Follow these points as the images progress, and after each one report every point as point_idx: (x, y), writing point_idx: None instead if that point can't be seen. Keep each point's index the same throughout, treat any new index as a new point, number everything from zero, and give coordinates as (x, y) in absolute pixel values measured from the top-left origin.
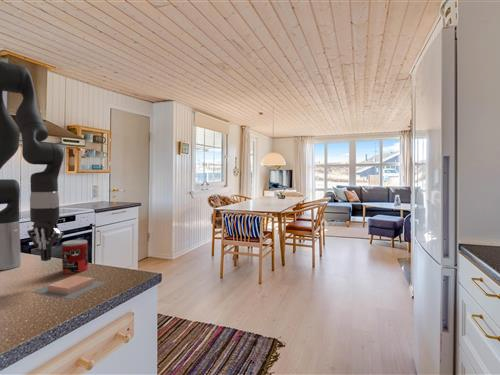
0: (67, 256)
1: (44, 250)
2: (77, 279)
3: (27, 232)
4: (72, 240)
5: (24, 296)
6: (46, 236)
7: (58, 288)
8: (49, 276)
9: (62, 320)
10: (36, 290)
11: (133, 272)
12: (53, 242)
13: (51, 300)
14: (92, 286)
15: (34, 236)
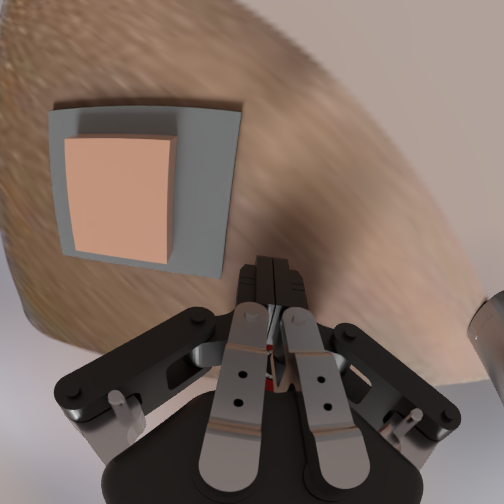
0: (267, 363)
1: (256, 301)
2: (112, 227)
3: (458, 410)
4: None
5: (250, 88)
6: (210, 401)
7: (112, 137)
8: (330, 287)
9: (3, 30)
10: (234, 132)
11: (88, 339)
12: (135, 343)
13: (109, 88)
14: (68, 217)
15: (390, 397)
